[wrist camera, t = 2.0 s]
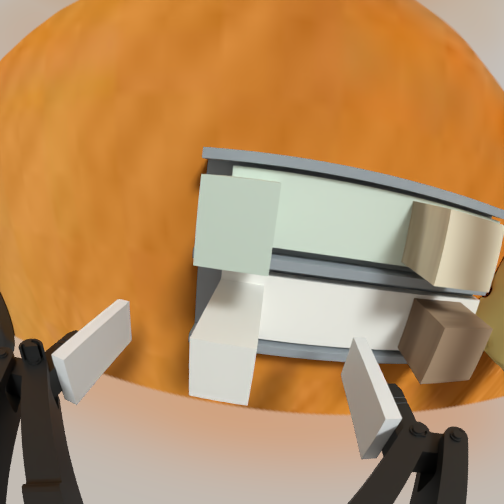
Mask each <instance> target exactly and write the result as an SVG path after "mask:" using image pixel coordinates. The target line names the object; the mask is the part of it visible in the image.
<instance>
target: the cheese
mask: <svg viewBox="0 0 504 504" xmlns="http://www.w3.org/2000/svg"><path fill="white" fill-rule="evenodd" d="M479 300H480V302H479V305H478V308H477V311H476V315H477V316H478V317H479V318H481V319H482V320H483V321H484V322H485V323H487V324H488V325H489V326H490V327H491V328H492V329H493V330H492V332H491V335H490V337H489V340H488V342H487V344H486V346H485V349H484V351H485V352H486V353H487V354H488V355H489V357H490V358H491V359H492V360H493V361H494V362H495V363H496V364H497V365H499V366H500V367H501V368H502V370H503V371H504V259H503V261H502V263H501V264H500V266H499V268H498V270H497V272H496V274H495V276H494V278H493V281H492V292H491V293H490V295H489V296H488V297H486V298H484V297H481V298H480V299H479Z"/></svg>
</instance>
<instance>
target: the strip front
mask: <svg viewBox="0 0 504 504" xmlns="http://www.w3.org/2000/svg"><path fill="white" fill-rule="evenodd" d="M413 201H416V202H421V203H426V204H431V205H435V206H440V207H444V208H449V209H453V210H456V211H460V212H463V213H466V214H470V215H473V216H476V217H480V218H483V219H486V220H489V221H492V222H495V223H498V224H500V222H499V221H496V220H493V219H490V218H487V217H484V216H481V215H478V214H475V213H471V212H468V211H465V210H461V209H458V208H454V207H451V206H447V205H444V204H440V203H436V202H433V201H429V200H425V199H421V198H417V197H413V196H409V195H405V194H401V193H396V192H392V191H388V190H383V189H379V188H374V187H369V186H364V185H359V184H354V183H349V182H344V181H339V180H333V179H327V178H322V177H316V176H310V175H303V174H297V173H290V172H283V171H276V170H268V169H260V168H252V167H243V166H234V165H233V173H232V176H225V175H210V174H201V182H200V192H199V201H198V212H197V223H196V235H195V248H194V262H193V265H194V266H200V267H207V268H213V269H220V270H227V271H234V272H241V273H248V274H255V275H262V276H268V275H269V269H270V262H271V255H272V248H280V249H288V250H295V251H302V252H309V253H316V254H323V255H330V256H337V257H344V258H351V259H358V260H365V261H371V262H378V263H385V264H392V265H399V266H405V267H408V266H406V265H405V264H404V263H402V262H401V261H402V257H403V252H404V248H405V243H406V238H407V233H408V228H409V223H410V218H411V212H412V206H413Z"/></svg>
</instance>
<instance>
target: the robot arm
mask: <svg viewBox="0 0 504 504" xmlns="http://www.w3.org/2000/svg"><path fill="white" fill-rule="evenodd" d="M131 340H132V337H131V323H130V306H129V301H125V300H121V299H118V300H116V301H115V302H114V303H113V304H111V305H110V306H109V307H108V308H107V309H105V310H104V311H103V312H102V313H100V314H99V315H98V316H97V317H95V318H94V319H93V320H92V321H91V322H89V323H88V324H87V325H86V326H84V327H83V328H82V329H81V330H80V331H76V330H75V331H72V332H70V333H68V334H66V335H65V336H64V337H63V338H62V339H60V340H59V341H58V342H57V343H55V344H54V345H53V346H52V347H50V348H49V349H48V350H47V351H46V352H45V351H44V348H43V344H42V342H41V341H40V340H37V339H27V340H25V341H23V342H22V343H20V345H19V350H20V354H21V357H22V358H17V357H14V354H13V351H14V346H15V340H14V332H13V328H12V324H11V320H10V317H9V314H8V311H7V308H6V306H5V303H4V301H3V298H2V296H1V294H0V504H6V495H7V485H8V478H9V471H10V464H11V459H12V454H13V449H14V444H15V439H16V435H17V431H18V426H19V422H20V419H21V433H22V448H23V459H24V467H25V475H26V484H23V486H22V493H23V499H24V504H83V501H82V498H81V495H80V492H79V489H78V485H77V482H76V478H75V475H74V471H73V467H72V463H71V459H70V456H69V451H68V446H67V441H66V436H65V431H64V425H63V420H62V413H61V406H60V399H59V397H58V394H59V393H60V392H61V391H62V392H63V395H64V398H65V399H66V400H68V401H70V402H72V403H74V404H76V405H77V404H78V403H79V402H80V400H81V399H82V398H83V397H84V396H85V394H86V393H87V392H88V391H89V390H90V388H91V387H92V386H93V385H94V384H95V382H96V381H97V380H98V379H99V378H100V376H101V375H102V374H103V373H104V372H105V371H106V369H107V368H108V367H109V366H110V365H111V364H112V362H113V361H114V360H115V359H116V358H117V357H118V355H119V354H120V353H121V352H122V351H123V350H124V349H125V347H126V346H127V345H128V344H129V343H130V342H131ZM341 377H342V381H343V385H344V389H345V393H346V397H347V401H348V405H349V409H350V413H351V417H352V420H353V425H354V429H355V434H356V438H357V443H358V446H359V452H360V456H361V459H371V458H377V457H378V455H379V454H380V452H381V451H382V453H383V456H384V457H383V459H382V460H381V461H380V463H379V464H378V465H377V467H376V468H375V469H374V471H373V472H372V474H371V475H370V476H369V478H368V479H367V480H366V482H365V483H364V484H363V486H362V487H361V488H360V489H359V491H358V492H357V493H356V494H355V495H354V497H353V498H352V499H351V500H350V501H349V502H348V504H393V503H394V501H395V500H396V498H397V496H398V495H399V493H400V492H401V490H402V488H403V487H404V485H405V483H406V481H407V480H408V478H409V476H410V474H411V473H412V472H417V474H416V479H415V483H414V488H413V492H412V497H411V500H410V504H466V496H467V480H468V437H467V434H466V433H465V431H464V430H462V429H461V428H458V427H449V428H448V429H447V430H446V431H445V432H444V434H439V433H431V432H430V431H429V429H428V428H427V426H426V425H424V424H423V423H421V422H417V421H416V420H415V417H414V415H413V413H412V411H411V409H410V407H409V405H408V403H407V400H406V398H404V397H405V396H404V394H403V392H402V390H401V389H400V388H399V387H398V386H397V385H396V384H387V382H386V380H385V378H384V376H383V374H382V371H381V369H380V367H379V365H378V363H377V361H376V359H375V356H374V354H373V352H372V350H371V348H370V346H369V344H368V342H367V340H366V338H360V337H353V340H352V343H351V346H350V349H349V352H348V355H347V358H346V361H345V364H344V367H343V370H342V373H341Z"/></svg>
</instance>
